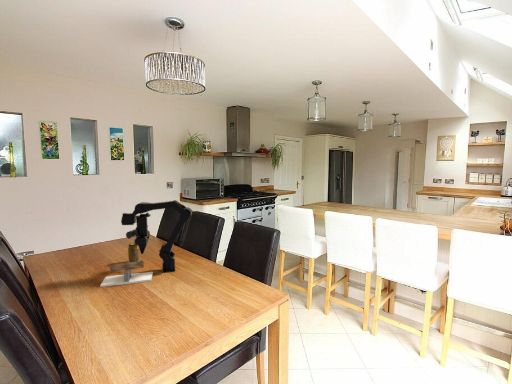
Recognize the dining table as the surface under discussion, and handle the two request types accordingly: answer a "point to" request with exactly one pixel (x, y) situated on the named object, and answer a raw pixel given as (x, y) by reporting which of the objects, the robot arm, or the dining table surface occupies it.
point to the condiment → (133, 253)
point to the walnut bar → (126, 266)
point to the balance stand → (127, 278)
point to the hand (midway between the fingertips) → (143, 251)
